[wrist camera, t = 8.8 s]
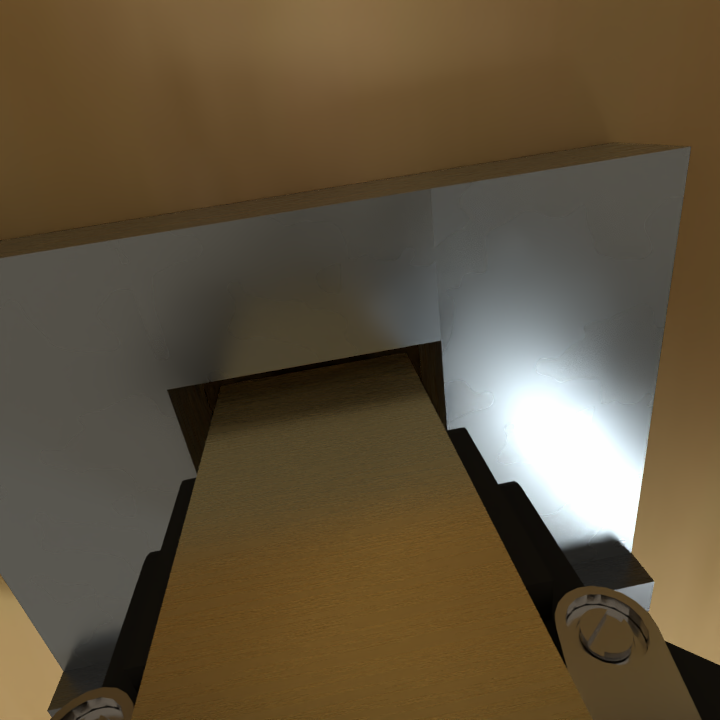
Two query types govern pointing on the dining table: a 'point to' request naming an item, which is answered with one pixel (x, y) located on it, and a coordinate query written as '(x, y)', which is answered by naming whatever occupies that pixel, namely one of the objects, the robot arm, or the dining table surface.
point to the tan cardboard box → (344, 568)
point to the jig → (332, 356)
